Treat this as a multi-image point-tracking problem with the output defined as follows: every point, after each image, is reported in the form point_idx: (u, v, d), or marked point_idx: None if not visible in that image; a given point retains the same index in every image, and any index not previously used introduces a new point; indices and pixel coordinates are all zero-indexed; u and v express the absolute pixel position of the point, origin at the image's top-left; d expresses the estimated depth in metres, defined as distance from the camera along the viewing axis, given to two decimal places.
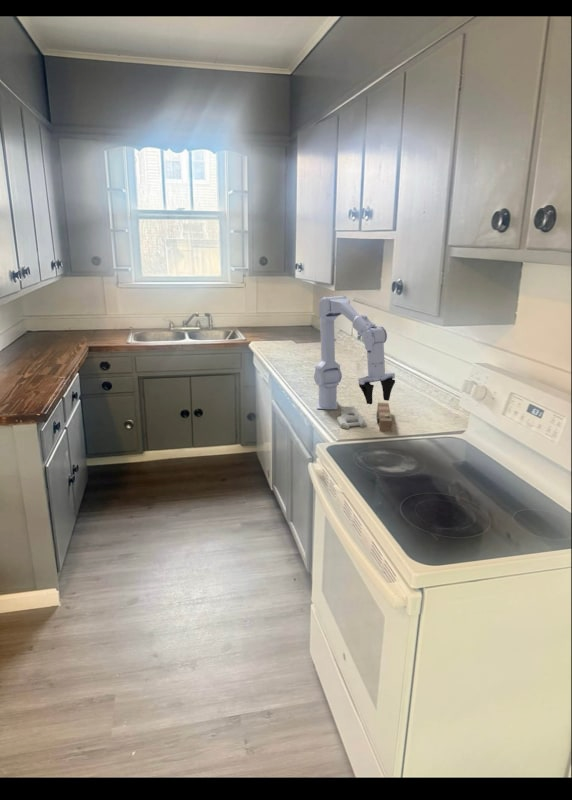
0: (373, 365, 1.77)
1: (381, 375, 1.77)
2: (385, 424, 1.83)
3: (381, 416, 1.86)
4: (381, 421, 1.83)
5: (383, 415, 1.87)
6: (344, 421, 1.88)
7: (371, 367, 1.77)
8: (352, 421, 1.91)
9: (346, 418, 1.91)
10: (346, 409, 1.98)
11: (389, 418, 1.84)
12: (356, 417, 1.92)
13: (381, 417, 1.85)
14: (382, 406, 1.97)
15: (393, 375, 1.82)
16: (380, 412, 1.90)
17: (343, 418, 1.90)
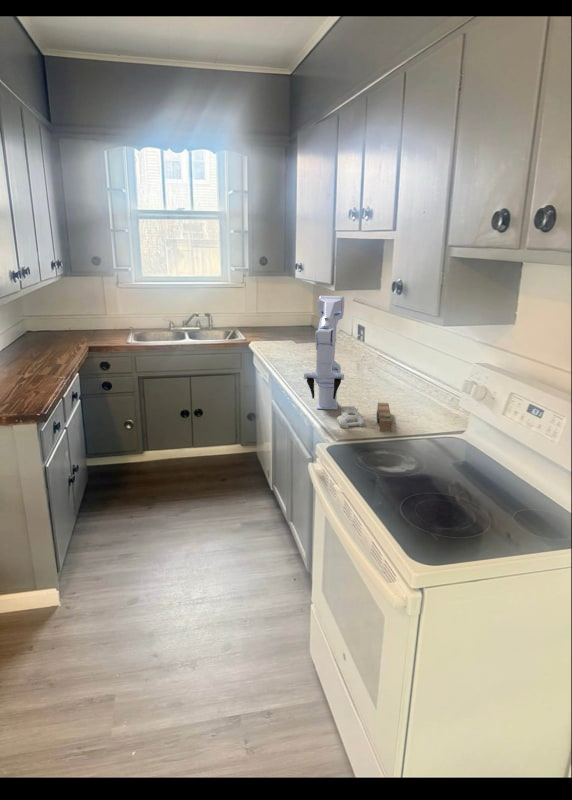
0: (317, 364, 1.88)
1: (323, 374, 1.87)
2: (385, 424, 1.83)
3: (381, 416, 1.86)
4: (381, 421, 1.83)
5: (383, 415, 1.87)
6: (344, 421, 1.88)
7: (316, 365, 1.88)
8: (352, 421, 1.91)
9: (346, 418, 1.91)
10: (346, 409, 1.98)
11: (389, 418, 1.84)
12: (356, 417, 1.92)
13: (381, 417, 1.85)
14: (382, 406, 1.97)
15: (342, 377, 1.89)
16: (380, 412, 1.90)
17: (343, 418, 1.91)
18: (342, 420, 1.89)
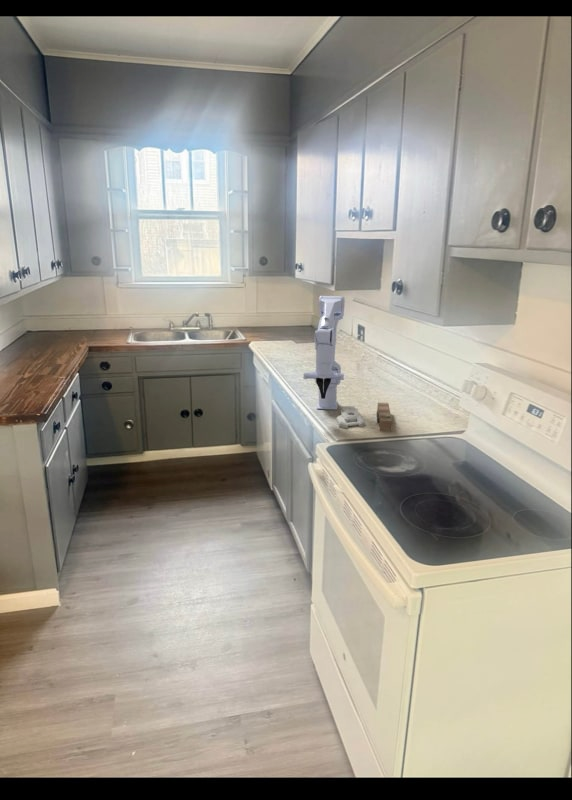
0: (316, 363, 1.88)
1: (322, 374, 1.87)
2: (385, 424, 1.83)
3: (381, 416, 1.86)
4: (381, 421, 1.83)
5: (383, 415, 1.87)
6: (343, 421, 1.88)
7: (316, 365, 1.89)
8: (351, 421, 1.92)
9: (345, 418, 1.91)
10: (346, 409, 1.99)
11: (389, 418, 1.84)
12: (355, 417, 1.92)
13: (381, 417, 1.85)
14: (382, 406, 1.97)
15: (341, 376, 1.89)
16: (380, 412, 1.90)
17: (342, 418, 1.91)
18: (341, 420, 1.89)
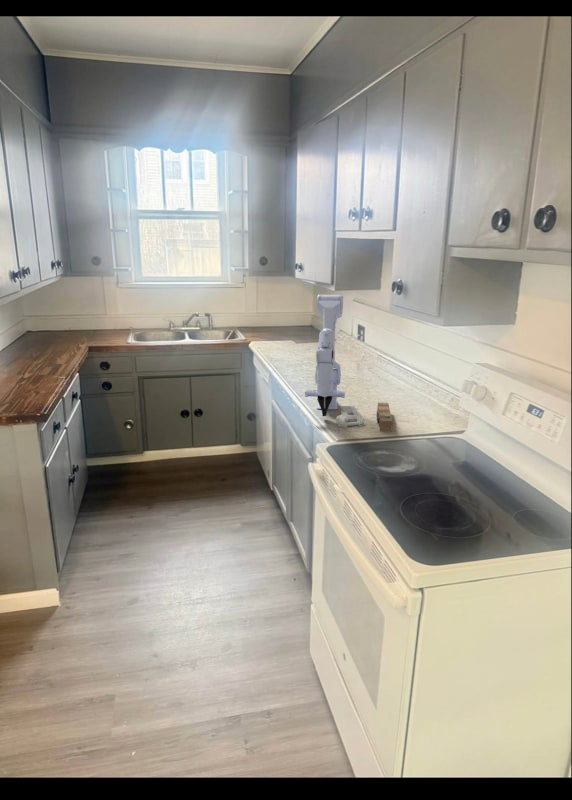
0: (318, 382, 1.90)
1: (323, 393, 1.89)
2: (385, 424, 1.83)
3: (381, 416, 1.86)
4: (381, 421, 1.83)
5: (383, 415, 1.87)
6: (342, 420, 1.89)
7: (317, 383, 1.91)
8: (351, 420, 1.92)
9: (345, 417, 1.91)
10: (346, 408, 1.99)
11: (389, 418, 1.84)
12: (355, 417, 1.92)
13: (381, 417, 1.85)
14: (382, 406, 1.97)
15: (342, 395, 1.91)
16: (380, 412, 1.90)
17: (342, 417, 1.91)
18: (341, 420, 1.89)
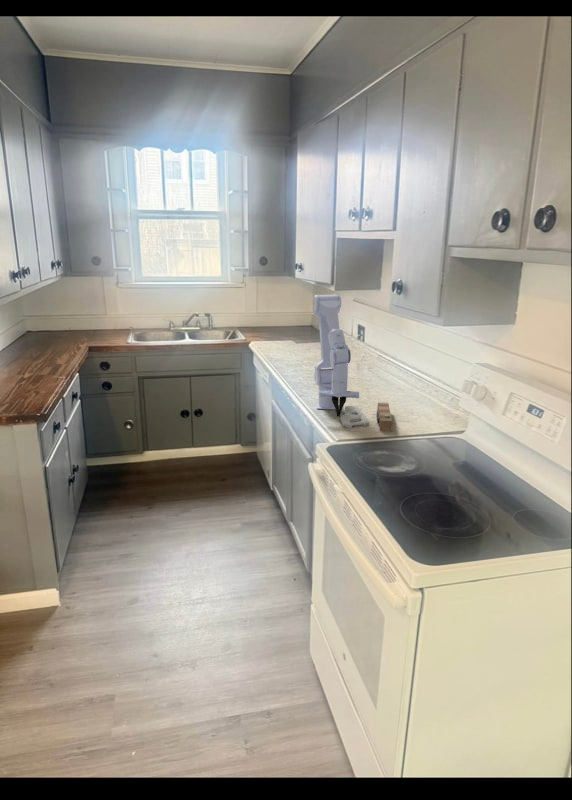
0: (332, 382, 1.89)
1: (338, 393, 1.89)
2: (385, 424, 1.83)
3: (381, 416, 1.86)
4: (381, 421, 1.83)
5: (383, 415, 1.87)
6: (347, 420, 1.88)
7: (331, 383, 1.90)
8: (355, 420, 1.92)
9: (349, 417, 1.91)
10: (349, 408, 1.99)
11: (389, 418, 1.84)
12: (359, 416, 1.92)
13: (381, 417, 1.85)
14: (382, 406, 1.97)
15: (357, 395, 1.90)
16: (380, 412, 1.90)
17: (346, 417, 1.91)
18: (345, 419, 1.89)
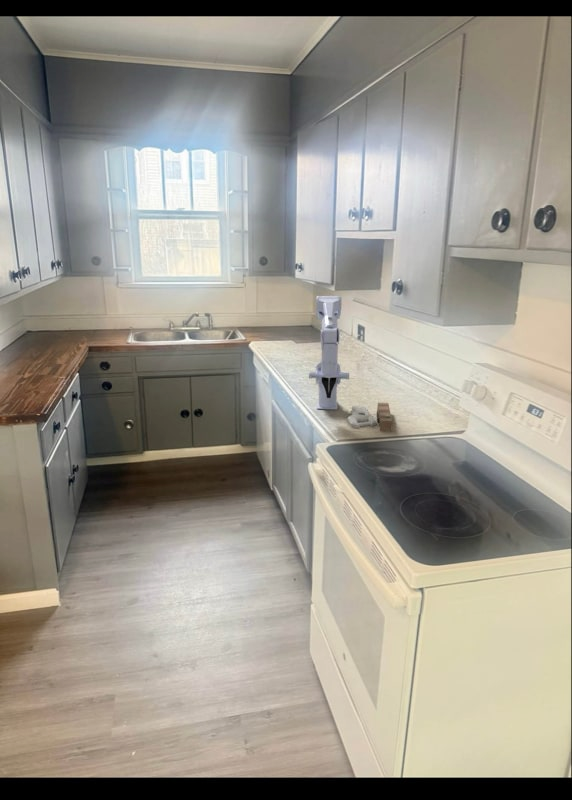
0: (322, 363, 1.87)
1: (328, 374, 1.87)
2: (385, 424, 1.83)
3: (381, 416, 1.86)
4: (381, 421, 1.83)
5: (383, 415, 1.87)
6: (355, 421, 1.88)
7: (321, 364, 1.88)
8: (362, 421, 1.92)
9: (357, 418, 1.91)
10: (356, 409, 1.99)
11: (389, 418, 1.84)
12: (367, 417, 1.92)
13: (381, 417, 1.85)
14: (382, 406, 1.97)
15: (347, 376, 1.88)
16: (380, 412, 1.90)
17: (354, 418, 1.91)
18: (353, 420, 1.89)
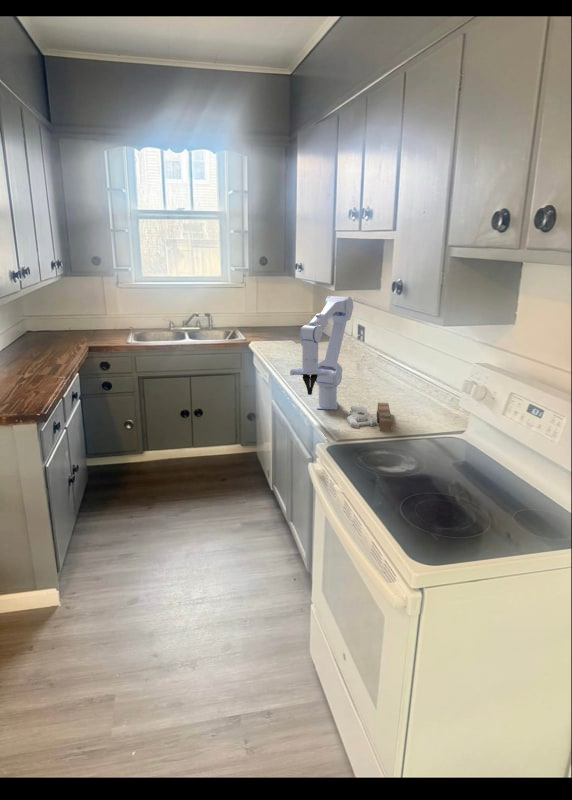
0: (303, 360, 1.89)
1: (308, 371, 1.89)
2: (385, 424, 1.83)
3: (381, 416, 1.86)
4: (381, 421, 1.83)
5: (383, 415, 1.87)
6: (354, 420, 1.89)
7: (302, 361, 1.90)
8: (362, 420, 1.92)
9: (356, 417, 1.91)
10: (356, 408, 1.99)
11: (389, 418, 1.84)
12: (366, 416, 1.92)
13: (381, 417, 1.85)
14: (382, 406, 1.97)
15: (328, 373, 1.90)
16: (380, 412, 1.90)
17: (353, 417, 1.91)
18: (352, 420, 1.89)
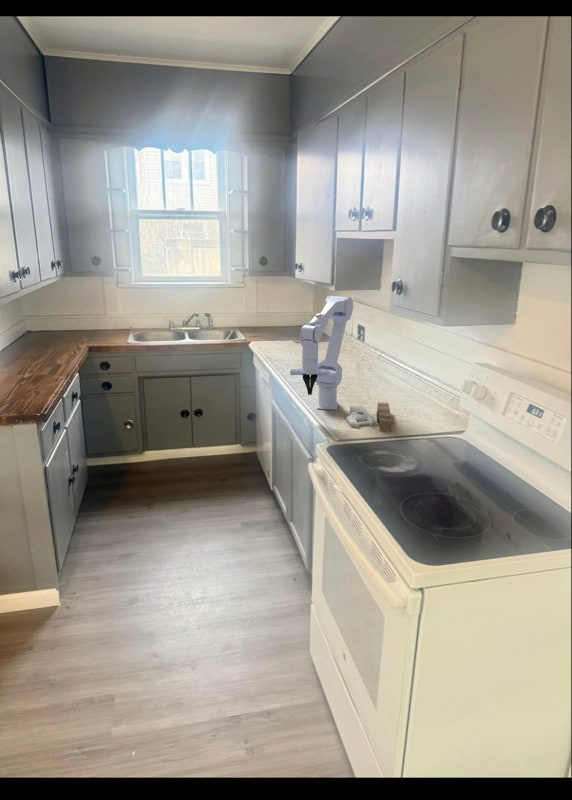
0: (303, 360, 1.89)
1: (308, 371, 1.89)
2: (385, 424, 1.83)
3: (381, 416, 1.86)
4: (381, 421, 1.83)
5: (383, 415, 1.87)
6: (354, 420, 1.89)
7: (302, 361, 1.90)
8: (362, 420, 1.92)
9: (356, 417, 1.92)
10: (355, 408, 1.99)
11: (389, 418, 1.84)
12: (365, 416, 1.93)
13: (381, 417, 1.85)
14: (382, 406, 1.97)
15: (328, 373, 1.90)
16: (380, 412, 1.90)
17: (353, 417, 1.91)
18: (352, 419, 1.89)
